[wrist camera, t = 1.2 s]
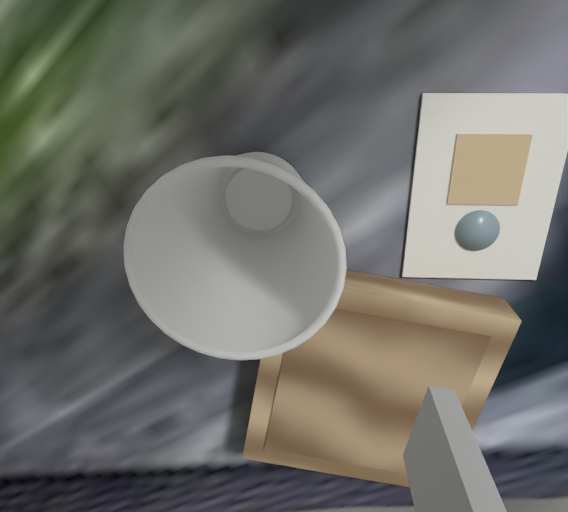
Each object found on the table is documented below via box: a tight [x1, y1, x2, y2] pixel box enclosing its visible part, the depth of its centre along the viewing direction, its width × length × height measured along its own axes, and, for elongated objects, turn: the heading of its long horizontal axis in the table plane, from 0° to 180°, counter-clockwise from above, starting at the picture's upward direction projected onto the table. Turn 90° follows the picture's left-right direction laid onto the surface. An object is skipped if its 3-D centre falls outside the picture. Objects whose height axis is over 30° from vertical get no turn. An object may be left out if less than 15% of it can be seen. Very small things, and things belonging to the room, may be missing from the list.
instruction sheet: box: [402, 93, 568, 280], centre depth 29 cm, size 12×9×1 cm
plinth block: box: [242, 270, 521, 487], centre depth 34 cm, size 16×16×3 cm
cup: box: [123, 152, 347, 360], centre depth 25 cm, size 10×10×11 cm
